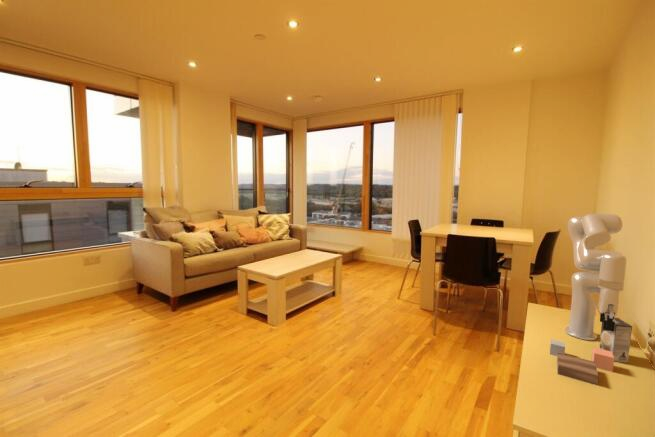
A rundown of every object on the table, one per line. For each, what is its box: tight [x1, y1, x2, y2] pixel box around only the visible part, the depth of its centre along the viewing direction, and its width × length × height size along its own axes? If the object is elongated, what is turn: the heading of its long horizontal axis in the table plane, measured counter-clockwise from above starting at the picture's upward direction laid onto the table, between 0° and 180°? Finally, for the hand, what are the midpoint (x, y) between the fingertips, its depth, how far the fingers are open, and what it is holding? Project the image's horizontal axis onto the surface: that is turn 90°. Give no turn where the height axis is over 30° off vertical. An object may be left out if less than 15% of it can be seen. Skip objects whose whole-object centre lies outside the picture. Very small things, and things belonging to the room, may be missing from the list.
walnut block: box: [556, 353, 599, 386], centre depth 126 cm, size 12×12×4 cm
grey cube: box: [549, 339, 566, 357], centre depth 140 cm, size 5×5×5 cm
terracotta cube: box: [591, 347, 615, 373], centre depth 130 cm, size 6×6×6 cm
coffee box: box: [598, 317, 633, 363], centre depth 138 cm, size 9×6×16 cm
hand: (606, 326), depth 128 cm, fingers open, 9 cm apart
